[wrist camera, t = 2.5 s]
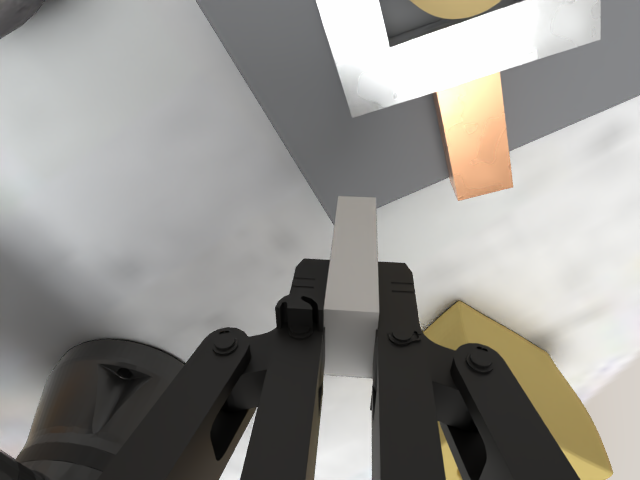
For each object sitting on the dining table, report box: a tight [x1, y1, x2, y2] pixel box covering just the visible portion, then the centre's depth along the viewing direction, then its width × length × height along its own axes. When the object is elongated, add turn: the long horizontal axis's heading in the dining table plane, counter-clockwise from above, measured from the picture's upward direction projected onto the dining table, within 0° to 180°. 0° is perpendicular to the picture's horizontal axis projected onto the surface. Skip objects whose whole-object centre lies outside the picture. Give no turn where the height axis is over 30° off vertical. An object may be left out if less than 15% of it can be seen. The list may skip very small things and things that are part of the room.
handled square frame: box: [316, 0, 601, 201], centre depth 19 cm, size 17×11×2 cm, turn 19°
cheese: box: [423, 301, 613, 480], centre depth 31 cm, size 10×11×10 cm
